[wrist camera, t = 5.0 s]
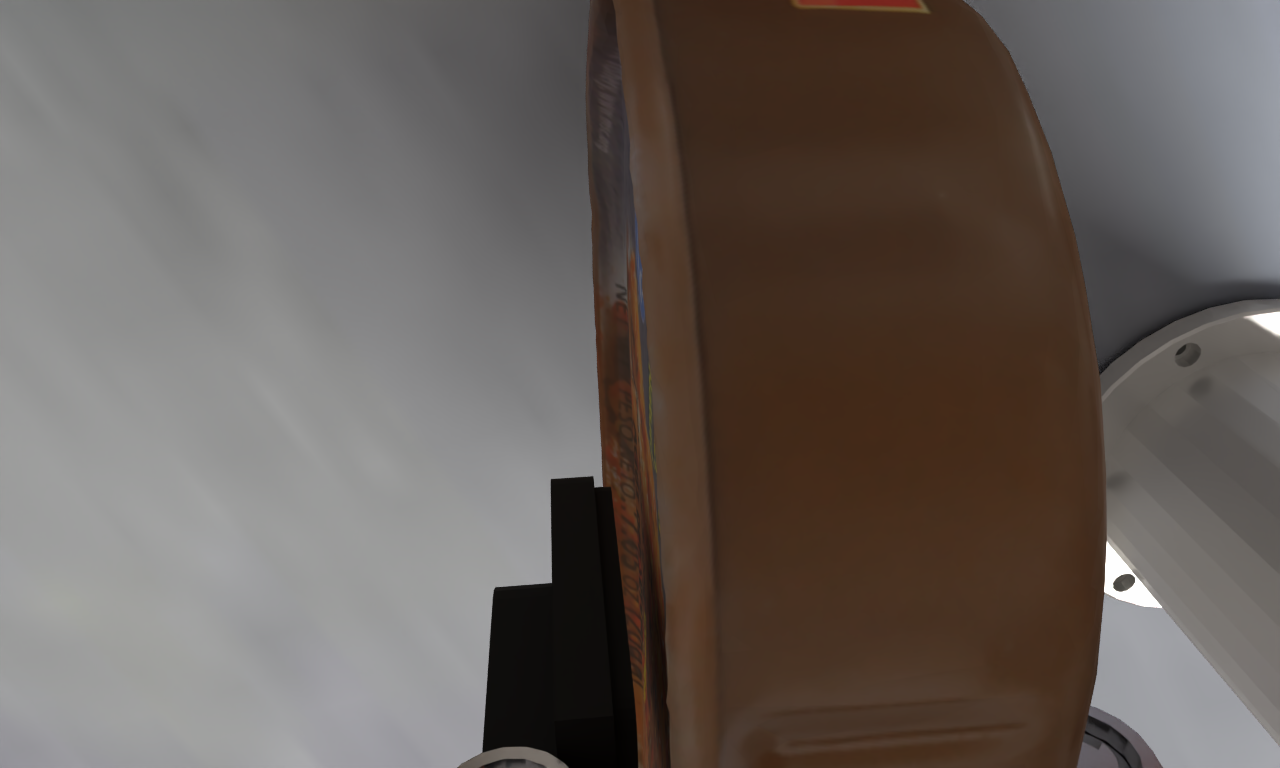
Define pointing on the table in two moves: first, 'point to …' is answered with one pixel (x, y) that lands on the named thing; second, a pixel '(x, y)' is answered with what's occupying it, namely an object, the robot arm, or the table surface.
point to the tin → (842, 388)
